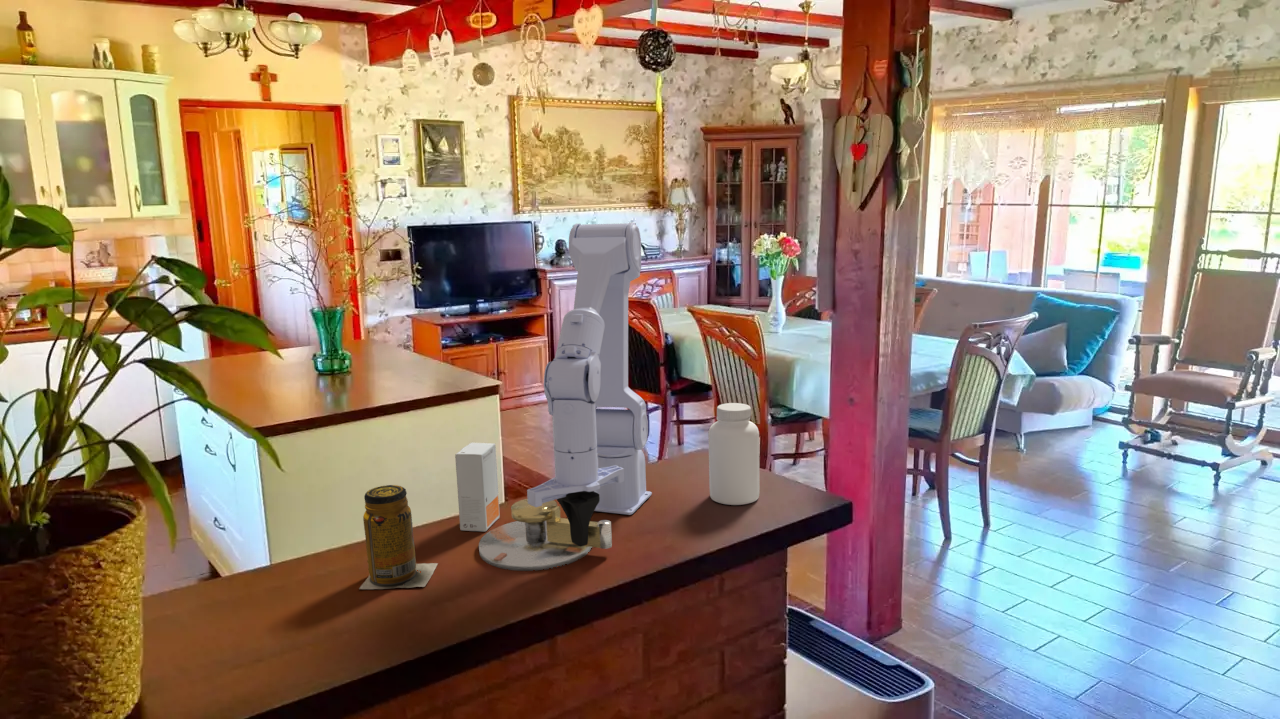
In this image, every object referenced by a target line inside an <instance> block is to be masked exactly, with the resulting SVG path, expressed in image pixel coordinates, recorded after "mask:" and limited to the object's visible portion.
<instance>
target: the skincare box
mask: <svg viewBox="0 0 1280 719" xmlns="http://www.w3.org/2000/svg"><path fill="white" fill-rule="evenodd" d="M496 449H497V448H496V443H489V442H487V443H486V442H469V444H467V445H465V446H464V447H462V448H461V449H460V450H459V451H458V452H456V453H455V455H454V457H455V472H456V486H457V498H458V499H457V502H458V513H459V514H458V515H459V528H460V531H464V532H465V531H467V532H468V531H469V532H485V533H486V532H487V531H488V529H490V527H492V525H493V524H494V523H495V522H496V521H498V519H500V516H501V515H500V502H499V501H500V497H499V483H498V482H499V481H498V466H497V450H496Z"/></svg>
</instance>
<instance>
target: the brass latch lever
mask: <svg viewBox="0 0 1280 719" xmlns="http://www.w3.org/2000/svg"><path fill="white" fill-rule="evenodd" d="M510 510H511V518H512V520H514V521H519V522H525V523H536V522H542V521H546V523H547V540H548V541H549V542H557V543H565V544H573V545H576V544H574V543H572V540H571V534H570V523H569V521H568V518H567V517H566V518H565V517H561V505H559V506H558V503H557V501H555V500H552V501H549V502H545V503H542V506H539V507H534V506H532V505H530V504H528V498H525V499H524V498H523V499H520V500H518V501H515V502H514V503H513V504H512V505H511V507H510ZM612 538H613V536H612V521H610V520H608V519H601V520H599V521H592V520H590V523H589V526H588V544H587V545H584V546H589V547H592V548H599V549H604V550H605V549H606V550H607V549H610V548H612V546H613V540H612Z"/></svg>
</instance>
